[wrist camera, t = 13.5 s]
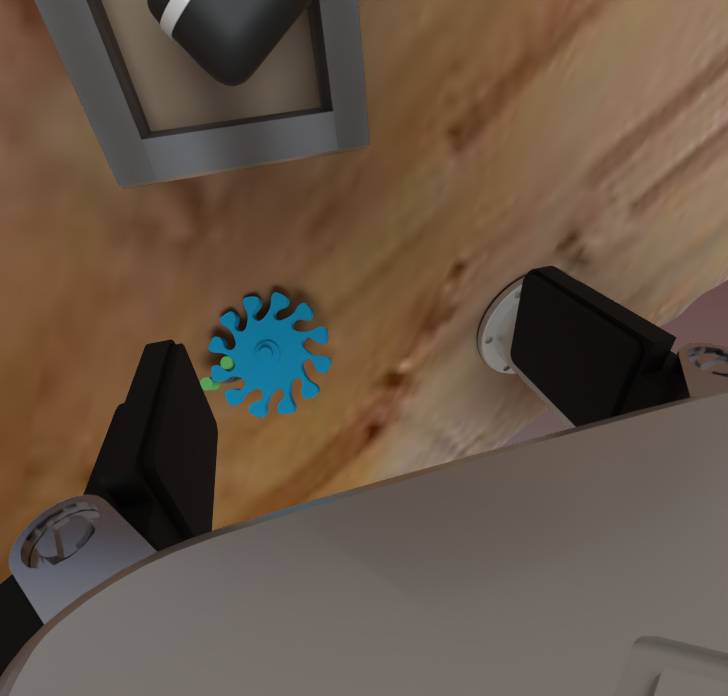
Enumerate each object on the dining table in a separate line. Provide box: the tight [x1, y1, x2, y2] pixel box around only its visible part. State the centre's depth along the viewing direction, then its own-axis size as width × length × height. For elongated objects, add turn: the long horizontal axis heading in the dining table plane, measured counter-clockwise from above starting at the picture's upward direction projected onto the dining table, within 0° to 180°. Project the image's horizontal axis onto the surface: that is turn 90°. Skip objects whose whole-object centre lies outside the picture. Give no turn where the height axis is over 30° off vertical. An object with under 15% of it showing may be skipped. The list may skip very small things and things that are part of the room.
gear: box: [200, 292, 332, 418], centre depth 33 cm, size 11×6×10 cm
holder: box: [35, 0, 370, 189], centre depth 20 cm, size 16×16×5 cm
